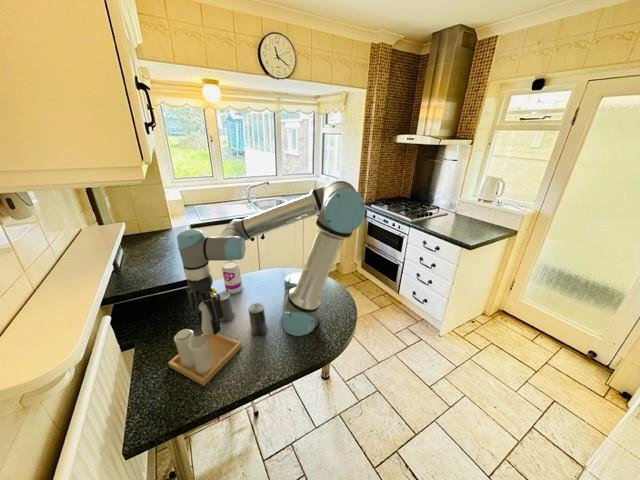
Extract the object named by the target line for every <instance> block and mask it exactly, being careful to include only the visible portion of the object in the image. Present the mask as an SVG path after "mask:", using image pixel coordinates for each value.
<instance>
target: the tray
mask: <svg viewBox="0 0 640 480" xmlns="http://www.w3.org/2000/svg"><path fill="white" fill-rule="evenodd" d="M200 336H205V337H207V338H208V341H209V345H210V349H211V353H212V358H213V362H214V368H213V369H212V370H211V371H210V372H209V373H208V374H207V375H204V376H199V375H197V374H196V371H195V367H194V366H193V367H191V368H184V367H183V366H182V363H181V360H180V357H179V354H177V355H174V357H172V359H170V360H169V361H167V364H168V366H169V368H171V369H172V370H174V371H176V372H178V373H180V374H182V375H183V376H184V377H187V378H189V379H191V380H192V381H194V382H195V383H198V384H200V385H201V386H203V387H205V386H206V385H207V384H208V383H209V382H210V381H211V380H212V378H213V377H215V375H216V374H218V372H219V371H220V370H221V369H222V368H223V367H224V366H225V365H226V364H227V363H228V362H229V360H231V359H232V358H233V357H234V355H236V354H237V352H238V351H240V349H241V348H242V342H240V341H238V340H236V339H233V338H230V337H228V336H226V335H224V334H221V333H220V332H218V333H217V334H216V335H214V334H213V335H210V336H209V335H207V334H205V333H204V332H203V333H202V334H201V335H200Z"/></svg>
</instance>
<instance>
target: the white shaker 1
mask: <svg viewBox="0 0 640 480" xmlns="http://www.w3.org/2000/svg"><path fill="white" fill-rule="evenodd" d="M195 337H196V336H195V333H194V331H193V330H192V329H189V328H184V329H181V330H179V331H178V332H177V333H176V334H175V335H174V338H173V340H174V344H175V347H176V350H177V353H178V354H179V357H180V360H181V363H182V366H183V367H184V368H191V367H193V366H194V364H193V360H192V357H191V353H190V350H189V343H190V342H191V340H192V339H193V338H195ZM178 354H177V355H178Z"/></svg>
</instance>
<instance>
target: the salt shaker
mask: <svg viewBox="0 0 640 480" xmlns="http://www.w3.org/2000/svg"><path fill="white" fill-rule="evenodd" d="M199 309H200V311H202V329H201V332H203V333H205V334H207V335H209V336H210V335H213V334H214V333H213V329H212V324H211V320H212V318H211V315H210V313H209V311H208V309H207V307H206V304H204V303H203V301H202V302H201V303H200V304H199Z"/></svg>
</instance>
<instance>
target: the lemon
mask: <svg viewBox="0 0 640 480" xmlns="http://www.w3.org/2000/svg"><path fill="white" fill-rule="evenodd" d="M211 289H212V290H213V293H214V294H216V295H217V294H218V292H217V290H216V288H214V287H212V286H211Z"/></svg>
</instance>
